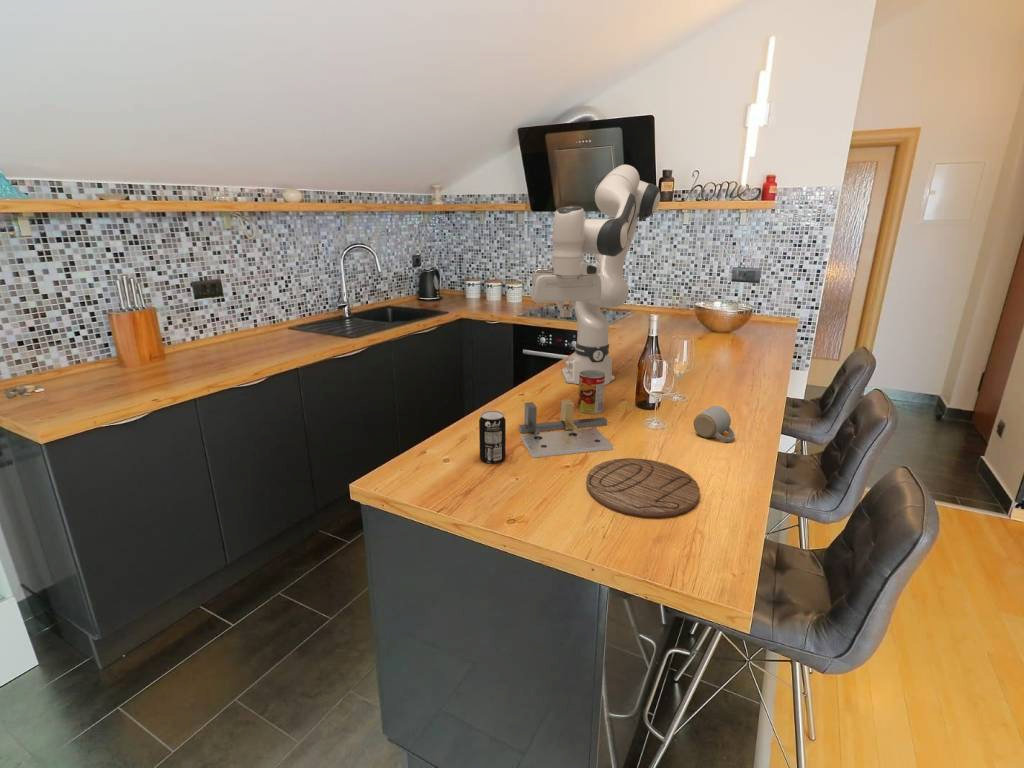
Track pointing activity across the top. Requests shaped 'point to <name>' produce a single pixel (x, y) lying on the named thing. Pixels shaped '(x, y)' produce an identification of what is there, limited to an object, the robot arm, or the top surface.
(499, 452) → the beverage can
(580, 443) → the bolt plate
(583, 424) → the rail
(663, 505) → the trivet
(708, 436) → the ceramic mug
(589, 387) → the canned food
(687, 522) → the top surface
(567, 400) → the sliding leg
